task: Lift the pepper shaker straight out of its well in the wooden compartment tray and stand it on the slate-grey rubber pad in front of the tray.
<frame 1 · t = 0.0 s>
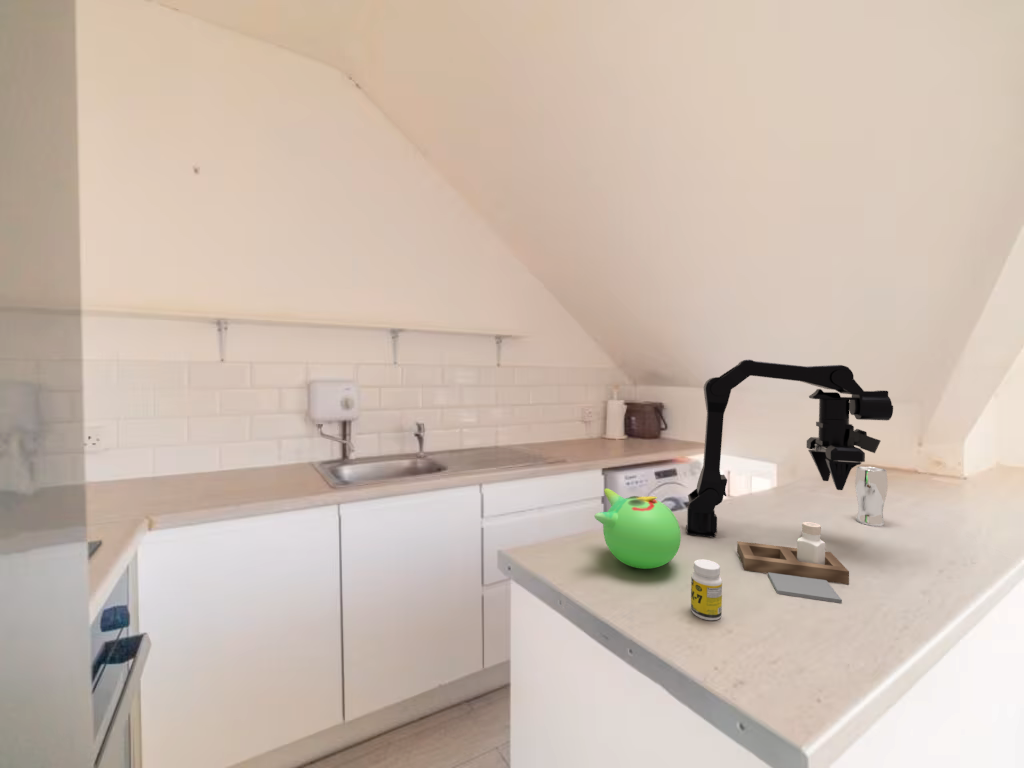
hand: (832, 485, 104), 15 cm above the counter, fingers open, 9 cm apart
wooden compartment tray: (788, 566, 93), on the counter
toy bird: (637, 564, 94), on the counter
pepper shaker: (810, 570, 92), resting in wooden compartment tray
supplement bottle: (705, 614, 74), on the counter
rubber pad: (802, 588, 84), on the counter
beer glass: (870, 523, 122), on the counter
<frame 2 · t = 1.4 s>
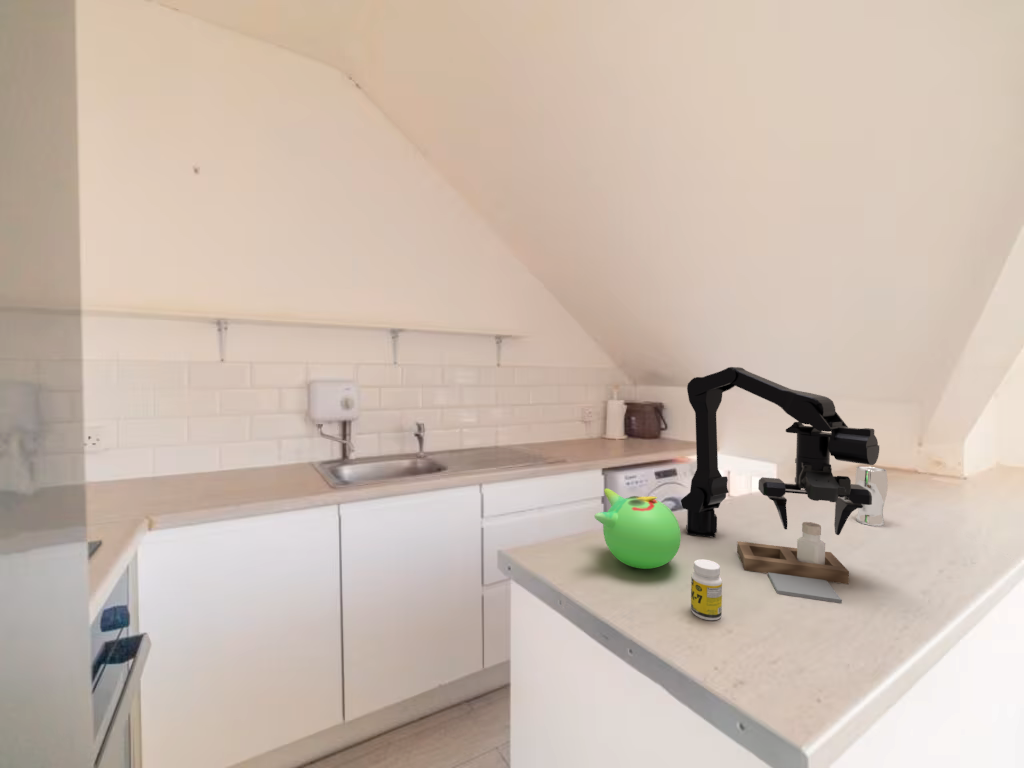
hand: (810, 531, 92), 8 cm above the counter, fingers open, 9 cm apart
nothing on the counter moved.
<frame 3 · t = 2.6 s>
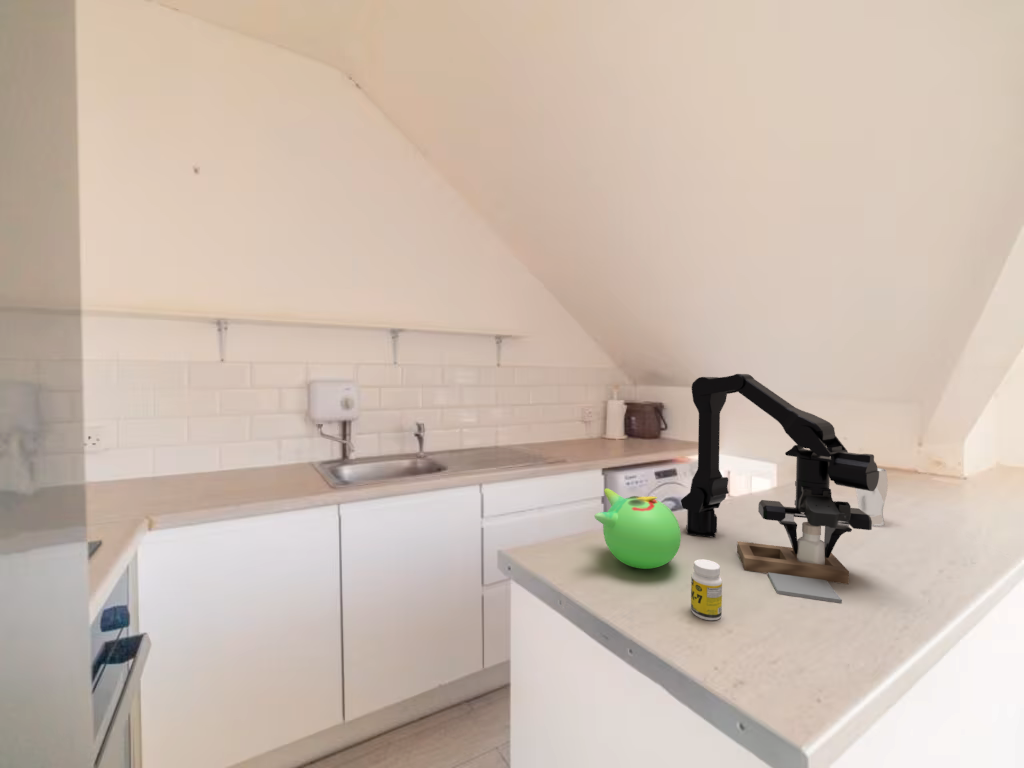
hand: (810, 555, 92), 3 cm above the counter, fingers closed on pepper shaker, 5 cm apart
pepper shaker: (810, 570, 92), resting in wooden compartment tray, touching gripper
everything else where it was.
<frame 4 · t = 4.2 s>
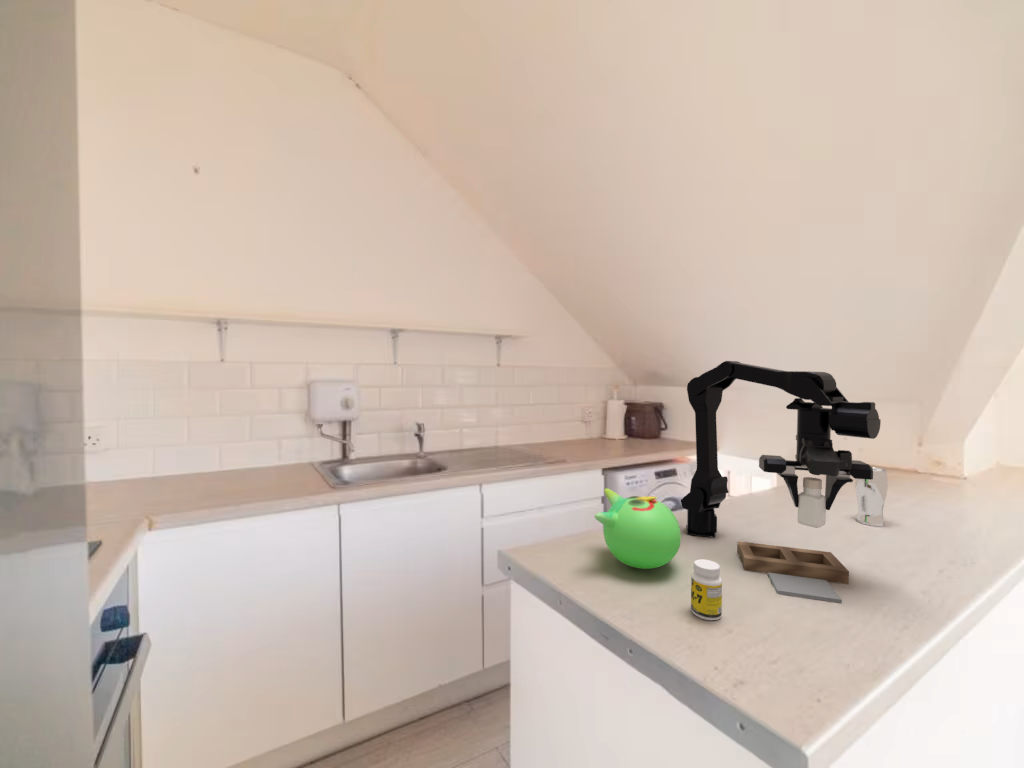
hand: (811, 508, 91), 13 cm above the counter, fingers closed on pepper shaker, 5 cm apart
pepper shaker: (811, 525, 91), point 9 cm above the counter, touching gripper
everything else where it was.
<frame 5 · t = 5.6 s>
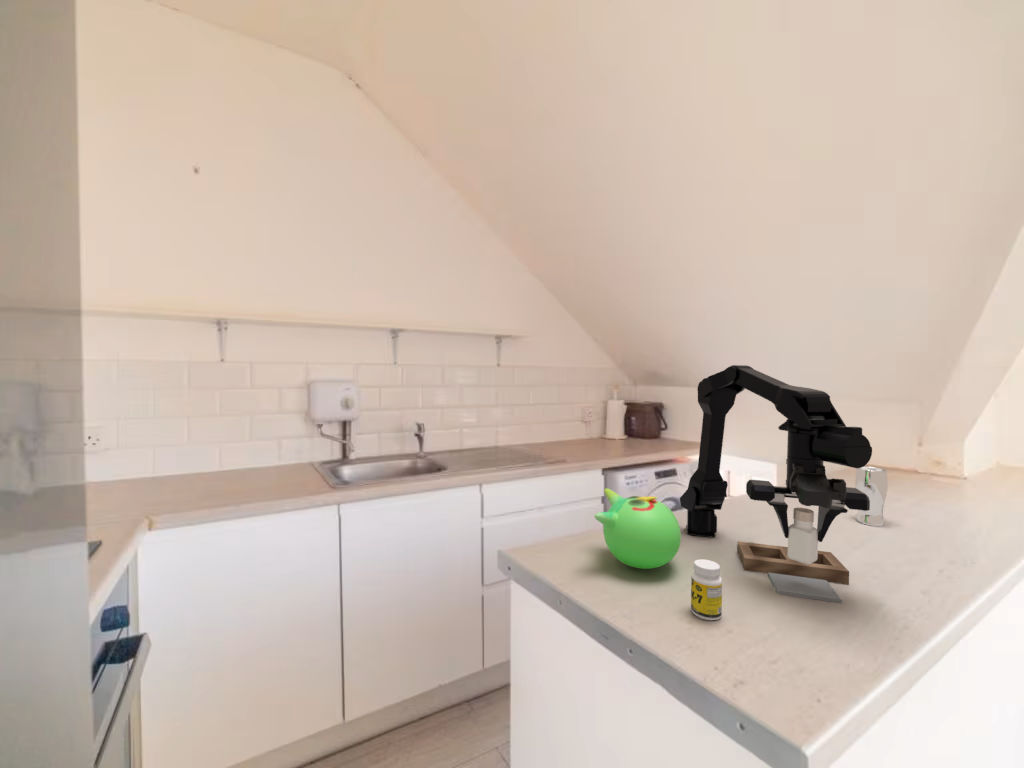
hand: (802, 539, 84), 9 cm above the counter, fingers closed on pepper shaker, 5 cm apart
pepper shaker: (802, 561, 84), point 5 cm above the counter, touching gripper
everything else where it was.
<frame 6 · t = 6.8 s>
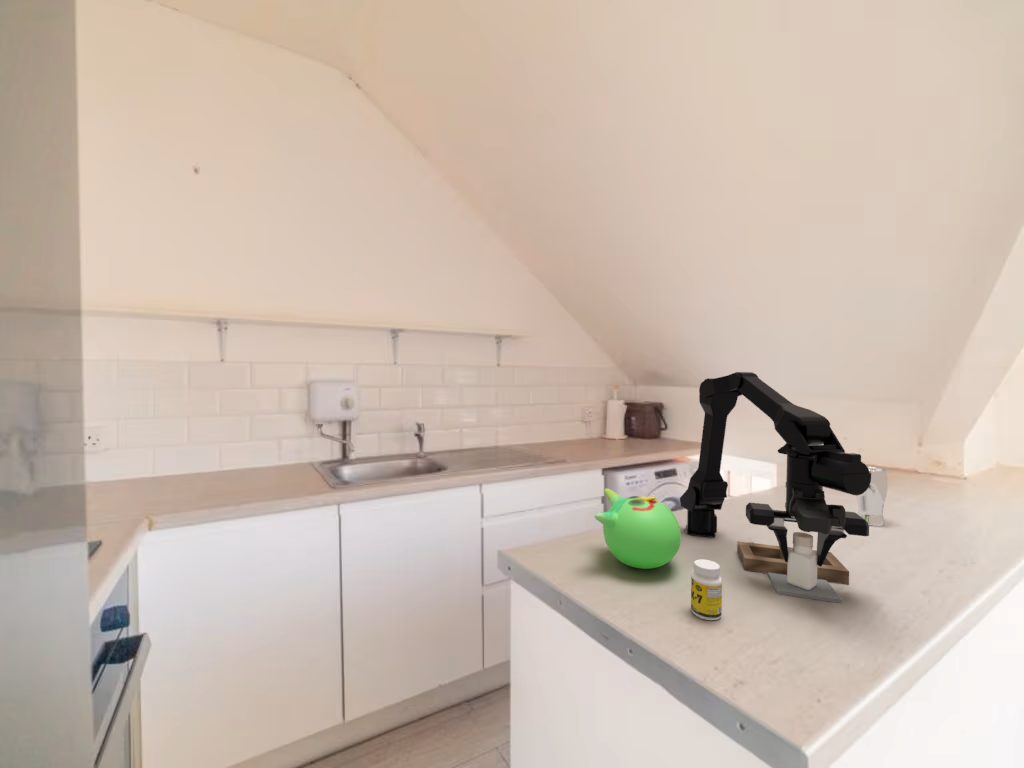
hand: (802, 563, 84), 5 cm above the counter, fingers closed on pepper shaker, 5 cm apart
pepper shaker: (801, 585, 84), resting on rubber pad, touching gripper
everything else where it was.
when the fingers open (5 cm above the counter, at t = 6.8 s): pepper shaker stays where it is, resting on rubber pad.
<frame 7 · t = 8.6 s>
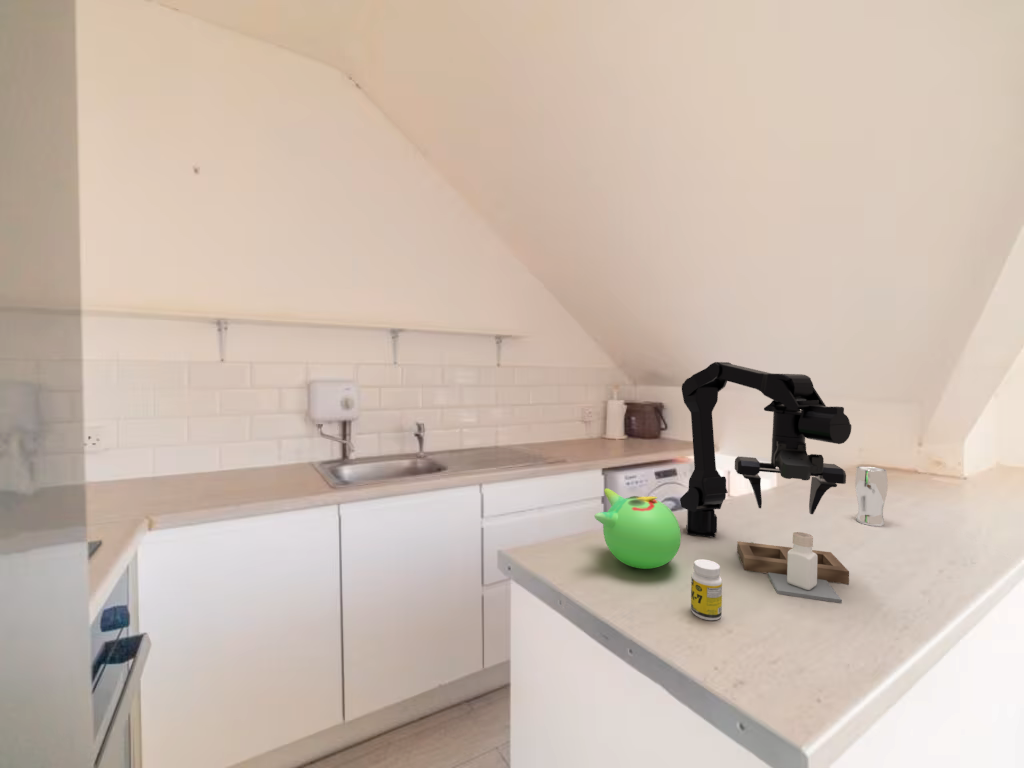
hand: (785, 510, 91), 12 cm above the counter, fingers open, 9 cm apart
pepper shaker: (801, 585, 84), resting on rubber pad
everything else where it was.
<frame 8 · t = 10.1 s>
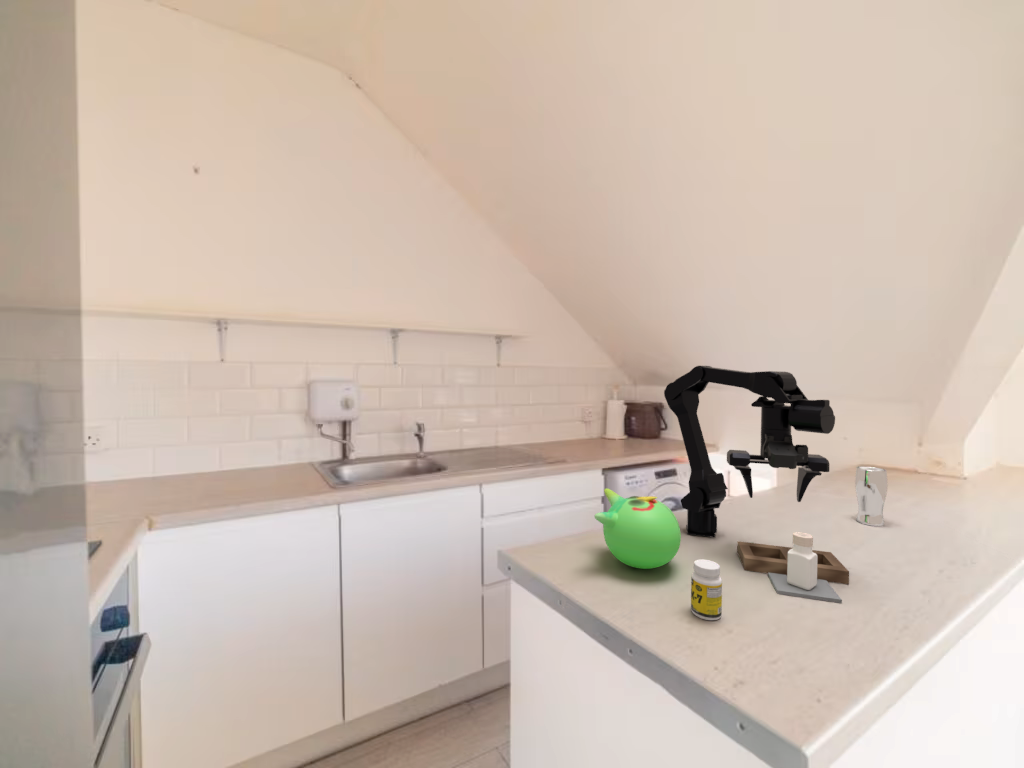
hand: (774, 499, 97), 13 cm above the counter, fingers open, 9 cm apart
nothing on the counter moved.
at the end: pepper shaker inside the target area on the rubber pad (0.1 cm from its centre), point 0.4 cm above the rubber pad's base; pepper shaker tilted 0°; the gripper is holding nothing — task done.
